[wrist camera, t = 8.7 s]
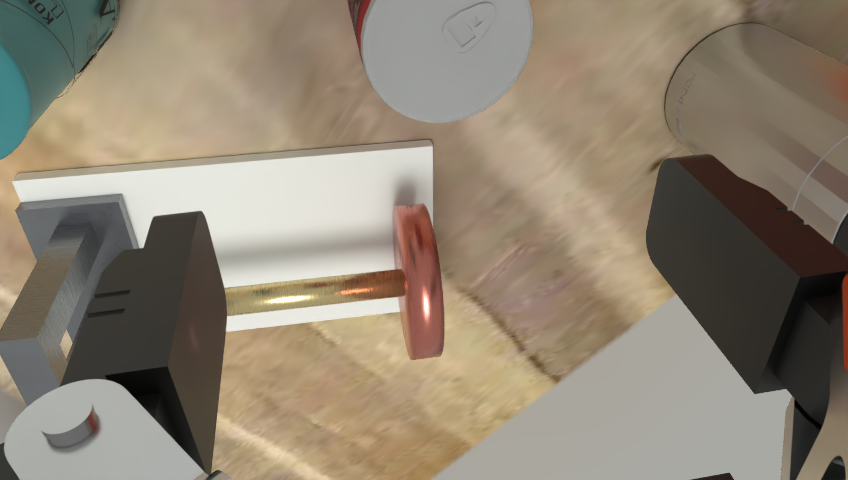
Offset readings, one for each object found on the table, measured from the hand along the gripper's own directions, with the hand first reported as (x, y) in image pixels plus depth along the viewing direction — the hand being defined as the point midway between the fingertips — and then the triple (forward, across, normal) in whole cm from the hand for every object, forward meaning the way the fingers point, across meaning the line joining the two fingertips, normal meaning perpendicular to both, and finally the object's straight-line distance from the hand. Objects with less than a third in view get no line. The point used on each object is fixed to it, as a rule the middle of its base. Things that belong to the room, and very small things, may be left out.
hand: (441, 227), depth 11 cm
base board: (+30, +8, +20) cm, 37 cm away
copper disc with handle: (+28, +5, +20) cm, 35 cm away
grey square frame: (+30, +18, +20) cm, 40 cm away
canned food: (+30, -4, +3) cm, 30 cm away
